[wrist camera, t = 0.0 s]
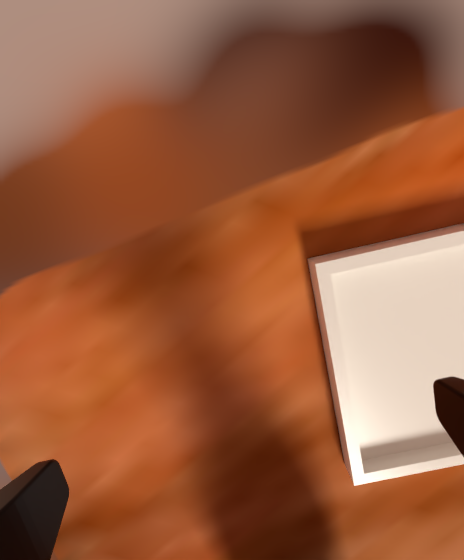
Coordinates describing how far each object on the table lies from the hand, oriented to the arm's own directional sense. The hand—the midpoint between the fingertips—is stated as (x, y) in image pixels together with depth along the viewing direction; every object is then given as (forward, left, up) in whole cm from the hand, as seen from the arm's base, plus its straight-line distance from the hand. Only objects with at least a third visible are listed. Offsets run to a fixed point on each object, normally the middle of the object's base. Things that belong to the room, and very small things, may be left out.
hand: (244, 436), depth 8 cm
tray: (-7, -11, -15) cm, 20 cm away
